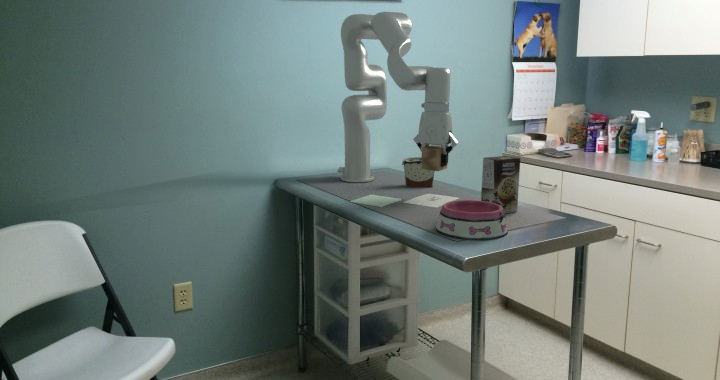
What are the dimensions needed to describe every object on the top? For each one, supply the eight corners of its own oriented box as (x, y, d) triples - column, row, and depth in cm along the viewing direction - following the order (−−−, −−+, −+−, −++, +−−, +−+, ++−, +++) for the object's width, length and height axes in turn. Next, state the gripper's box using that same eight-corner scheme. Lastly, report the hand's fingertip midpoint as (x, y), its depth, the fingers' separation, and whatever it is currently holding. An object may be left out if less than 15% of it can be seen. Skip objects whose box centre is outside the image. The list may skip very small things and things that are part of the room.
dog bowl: (448, 219, 166) (448, 195, 164) (514, 226, 158) (515, 201, 156) (425, 235, 150) (426, 209, 148) (498, 245, 142) (500, 217, 140)
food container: (436, 184, 212) (436, 157, 210) (436, 188, 206) (437, 160, 204) (402, 184, 213) (402, 156, 211) (401, 187, 207) (401, 159, 205)
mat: (349, 202, 185) (349, 201, 185) (371, 195, 194) (371, 194, 194) (381, 207, 178) (381, 206, 178) (402, 200, 188) (402, 199, 187)
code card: (402, 202, 184) (402, 202, 184) (427, 193, 197) (427, 193, 197) (436, 208, 177) (436, 207, 177) (460, 198, 190) (460, 197, 190)
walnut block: (421, 169, 186) (422, 147, 185) (430, 166, 191) (431, 144, 189) (438, 171, 183) (439, 149, 181) (447, 168, 188) (448, 146, 186)
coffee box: (494, 215, 168) (496, 160, 165) (479, 210, 174) (482, 157, 171) (518, 212, 172) (521, 157, 169) (503, 207, 178) (506, 154, 175)
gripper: (406, 107, 185) (405, 163, 189) (456, 110, 175) (453, 169, 179) (418, 105, 190) (416, 160, 195) (467, 108, 181) (464, 166, 185)
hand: (434, 164), depth 187 cm, fingers closed on walnut block, 6 cm apart
